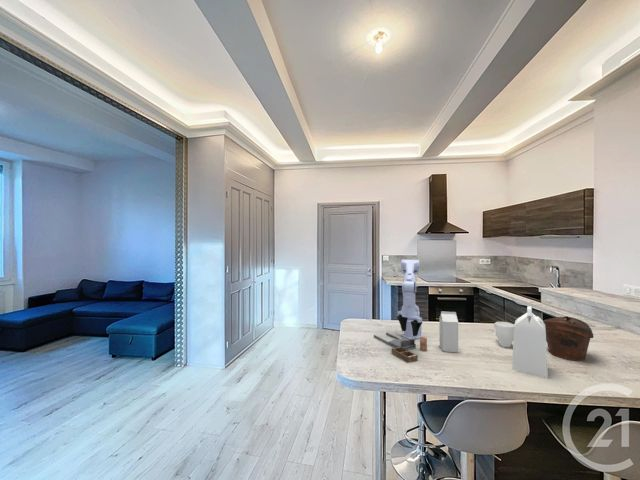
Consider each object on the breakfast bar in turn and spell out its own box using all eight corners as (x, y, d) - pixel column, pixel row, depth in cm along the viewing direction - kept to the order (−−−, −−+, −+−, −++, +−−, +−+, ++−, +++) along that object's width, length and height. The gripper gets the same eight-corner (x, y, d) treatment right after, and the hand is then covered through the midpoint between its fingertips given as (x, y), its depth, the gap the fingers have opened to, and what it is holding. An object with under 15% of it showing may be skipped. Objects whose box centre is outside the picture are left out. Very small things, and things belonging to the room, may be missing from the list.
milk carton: (458, 352, 131) (458, 314, 131) (442, 351, 132) (442, 313, 132) (454, 347, 138) (454, 310, 138) (439, 346, 139) (439, 309, 139)
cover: (402, 339, 145) (402, 333, 145) (415, 345, 136) (415, 339, 136) (388, 342, 141) (388, 336, 141) (401, 348, 132) (401, 342, 132)
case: (575, 348, 136) (574, 312, 136) (605, 366, 116) (604, 325, 116) (534, 345, 140) (533, 311, 140) (556, 362, 121) (555, 322, 121)
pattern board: (387, 334, 157) (387, 332, 157) (415, 348, 136) (415, 345, 136) (373, 337, 152) (373, 335, 152) (401, 351, 132) (401, 349, 132)
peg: (423, 348, 136) (423, 336, 136) (428, 350, 133) (428, 338, 133) (418, 349, 135) (418, 337, 135) (423, 351, 132) (423, 339, 132)
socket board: (400, 351, 133) (400, 346, 133) (417, 360, 123) (417, 355, 123) (391, 353, 130) (391, 348, 130) (407, 363, 120) (407, 357, 120)
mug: (519, 348, 135) (518, 326, 135) (503, 349, 135) (503, 326, 135) (501, 340, 147) (501, 319, 147) (487, 340, 147) (487, 319, 147)
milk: (514, 359, 123) (513, 303, 123) (547, 367, 116) (546, 307, 116) (512, 369, 114) (511, 308, 114) (547, 378, 107) (547, 313, 107)
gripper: (392, 303, 136) (393, 329, 136) (414, 309, 123) (414, 339, 123) (403, 301, 139) (403, 327, 139) (425, 308, 126) (425, 337, 126)
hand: (409, 333), depth 131 cm, fingers open, 7 cm apart
